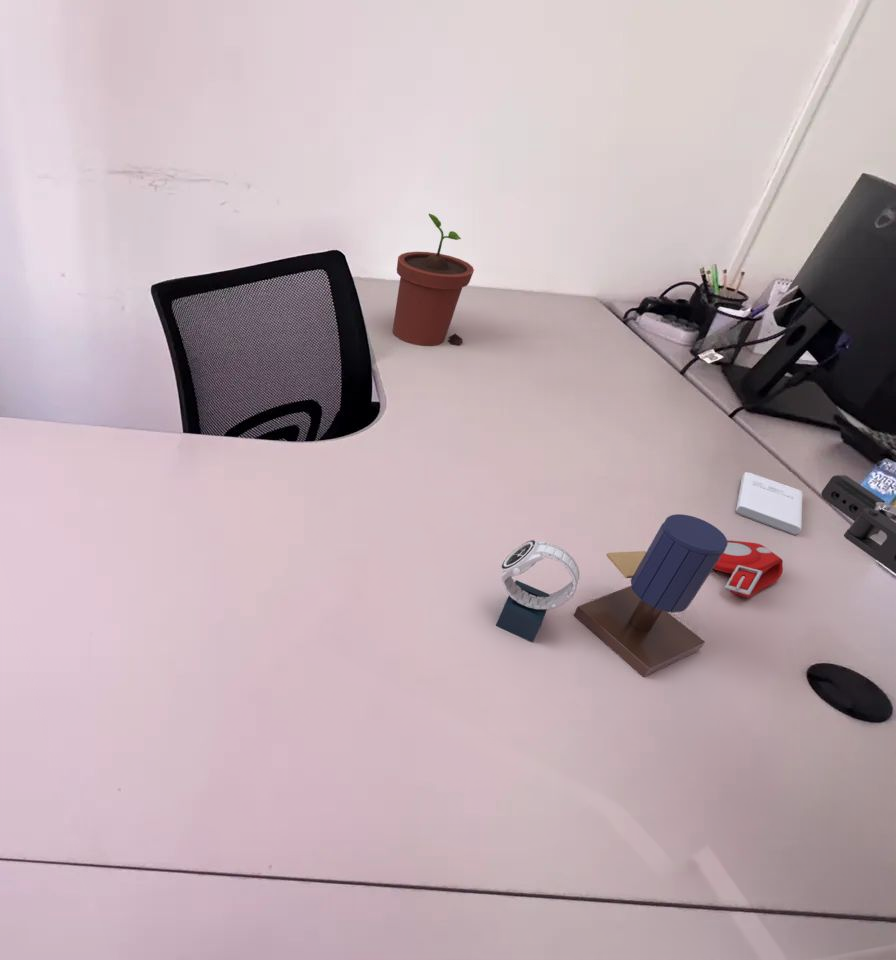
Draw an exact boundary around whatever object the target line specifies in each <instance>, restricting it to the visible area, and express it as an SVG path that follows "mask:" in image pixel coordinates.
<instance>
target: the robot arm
mask: <svg viewBox="0 0 896 960" xmlns="http://www.w3.org/2000/svg"><path fill="white" fill-rule="evenodd" d="M821 498H822V499H823V500H824V501H826V502H827V503H829V504H830V505H831V506H833V507H835V508H836V509H837V510H838V511H840V512H841V513H842V514H844V515H845V516H847V517H848V518H849V519H851V520H852V521H853V523H852V524H851V525H850V527H849V528H848V529H846V531H845V532H844V534H843V537H844V538H845V539H846V540H847V541H848V542H850V543H851V544H853V545H855V547H857V548H859V549H860V550H862V552H864V553H866V554H867V555H868V556H869V557H871V558H873V559H874V560H875V561H877V562H878V563H879V564H881V565H882V566H883V567H885V568H887V569H888V570H890V571H891V572H892V573H894V574H895V575H896V506H894V505H891V504H889V503H886V501H885V500H884V499H882V498H881V497H879V496H878V495H876V494H875V493H874V492H872V491H870V490H869V489H867V488H866V487H865V486H863V485H861V484H860V483H858V481H856V480H854V479H853V478H851V477H849V476H848V475H846V474H842V475H840V474H839V475H836V474H835V475H833V476H832V477H831V478H830V479H829V481H828V482H827V483H826V485H825V486H824V487H823V488H822V491H821ZM878 542H879V543H881V544H879V543H878Z"/></svg>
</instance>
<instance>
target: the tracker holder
mask: <svg viewBox="0 0 896 960" xmlns="http://www.w3.org/2000/svg"><path fill="white" fill-rule="evenodd" d="M727 542H728V543H727V547H726V549H725V551H724V553H723V554H722V556H721V557H720V559H719V560H718V562H717V563H716V565H715V567H714V568H713V570H716V571H717V572H718V571H719V572H722V573H727V574H731V576H730V577H729V579H728V580H727V582H726V584H725V586H724V589H725V590H729V592H730V593H731V594H733V595H737V596H738V597H739V596H740V597H743V598H747V599H748V598H751V597H753V596H754V595H756V594H758V593H759V592H761V591H763V590H764V589H766V588H768V587H769V586H771V585H773V584H774V583H776V582H777V581H778V580H780V578H781V576H782V574H783V569H784V567H783V564H784V561H783V559H782V558H781V557H780V556H779V555H777V554H775V552H773V551H772V550H771V549H769V548H768V547H766V546H764V545H762V544H761V543H757V542H749V541H741V540H728V539H727Z"/></svg>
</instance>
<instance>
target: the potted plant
mask: <svg viewBox="0 0 896 960" xmlns="http://www.w3.org/2000/svg"><path fill="white" fill-rule="evenodd" d="M428 217H429V218H430V219H431V221H432V222H433V225H434V226H435V227H436V228H437V229H438V230H439V233H440V235H441V236H440V240H439V245H438V248H437V252H430V251H407V252H404V253H401V254H399V255H398V256H397V263H396V273H397V275H398V276H399V284H398V292H397V297H396V303H395V304H396V305H395V311H394V318H393V324H392V335H394V336H395V337H396V338H397V339H399V340H401V341H403V342H406V343H409V344H412V345H416V346H423V347H424V346H425V347H433V346H439V345H441V344H443V343H444V342H445V340H446V337H447V336H448V335H447V334H448V331H449V329H450V325H451V322H452V320H453V317H454V314H455V311H456V308H457V305H458V303H459V299H460V295H461V293H462V290H463V288H465V287H467V286H468V285H469V284H470V282H471V279H472V277H473V274H474V272H475V269H474V267H473V266H472V264H470V263H469V262H467V261H465V260H463V259H460V258H457V257H454V256H451V255H447V254H443V253H441V251H442V245H443V241H444V239H450V240H456V241H457V240H458V241H459V240H461V239H462V238H461V237H460V235H459V234H458V233H457V232H455V231H453V230H450V231H449V232H448V235H444V234H445V233H444V231H443V229H442V222H441V220H439V218H438V217H437V216H436V215H435V214H431V213H428ZM447 341H448V342H449V343H450V345H455V346H461V345H463V344H464V342H463V341H464V340H463V338H462V337H461V336H459V335H458V334H457V333H454V334H452V335H450V336H449V337H448V340H447Z"/></svg>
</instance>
